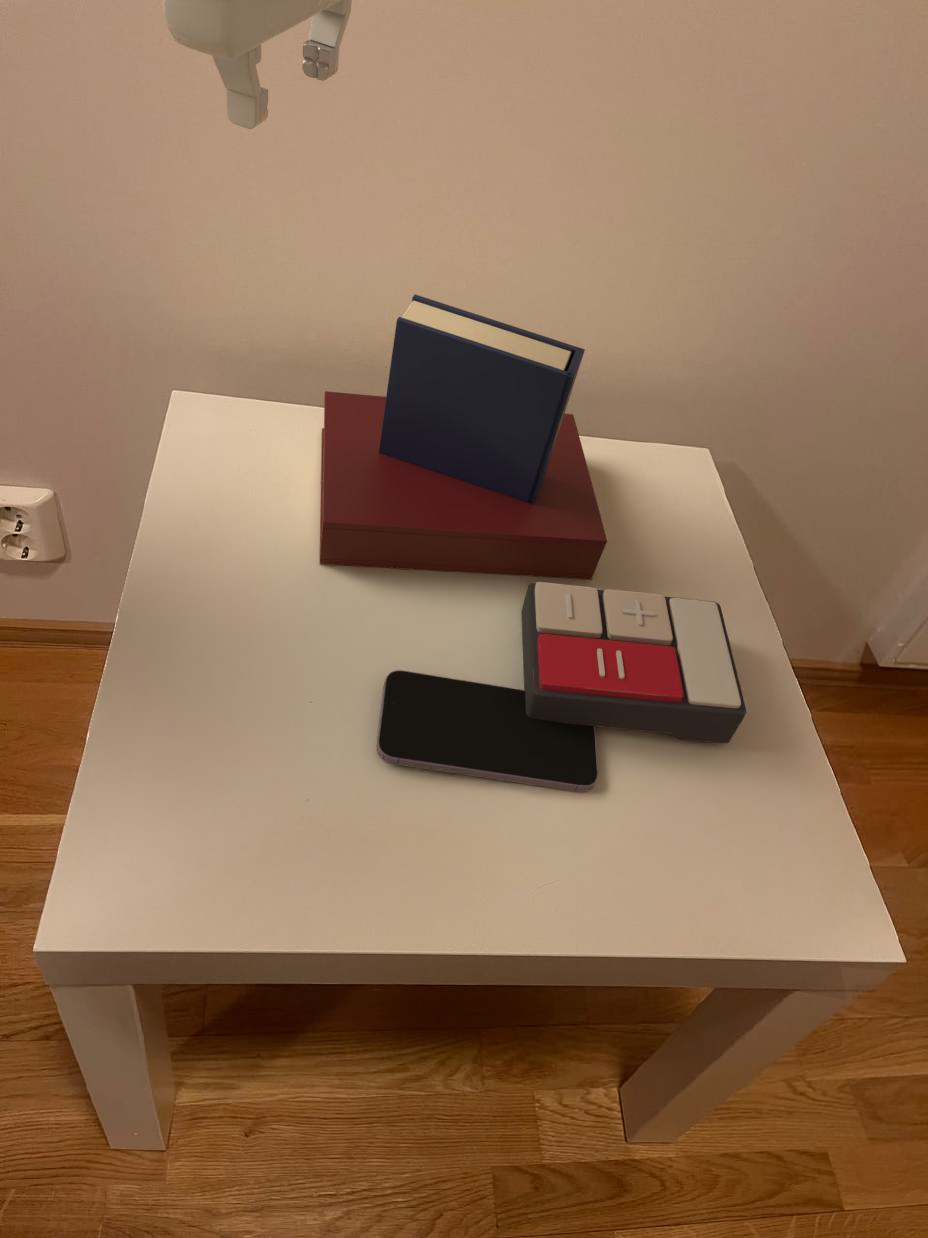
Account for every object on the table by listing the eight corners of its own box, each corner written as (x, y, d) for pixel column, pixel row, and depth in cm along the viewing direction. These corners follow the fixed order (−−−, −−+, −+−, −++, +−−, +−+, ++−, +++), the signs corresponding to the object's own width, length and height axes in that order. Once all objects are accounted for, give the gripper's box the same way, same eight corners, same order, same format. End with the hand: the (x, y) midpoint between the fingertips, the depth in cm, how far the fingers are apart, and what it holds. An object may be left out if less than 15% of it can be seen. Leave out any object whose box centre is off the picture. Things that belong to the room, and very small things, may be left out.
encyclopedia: (319, 564, 70) (323, 522, 67) (321, 432, 80) (324, 390, 77) (591, 579, 74) (607, 540, 71) (560, 453, 84) (573, 413, 81)
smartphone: (599, 789, 60) (375, 756, 58) (594, 798, 61) (373, 765, 59) (593, 700, 65) (386, 666, 63) (588, 709, 66) (384, 676, 64)
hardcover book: (533, 504, 72) (574, 377, 63) (378, 452, 73) (396, 319, 64) (544, 475, 75) (585, 348, 66) (394, 425, 76) (414, 293, 67)
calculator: (529, 573, 68) (723, 594, 69) (519, 613, 71) (705, 632, 72) (534, 687, 60) (752, 708, 62) (523, 726, 64) (731, 745, 65)
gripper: (249, -169, 37) (249, 175, 47) (426, -206, 50) (397, 67, 61) (110, -211, 37) (141, 137, 48) (322, -237, 51) (310, 39, 61)
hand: (285, 97), depth 54 cm, fingers open, 8 cm apart
